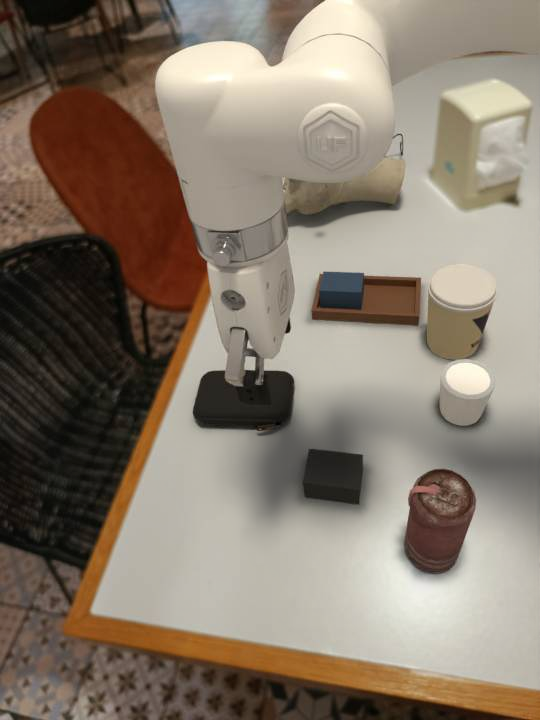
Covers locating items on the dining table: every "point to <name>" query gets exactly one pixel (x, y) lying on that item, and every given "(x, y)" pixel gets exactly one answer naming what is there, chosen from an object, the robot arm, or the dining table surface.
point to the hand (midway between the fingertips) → (266, 364)
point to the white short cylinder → (465, 391)
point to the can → (438, 519)
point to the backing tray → (379, 302)
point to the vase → (346, 189)
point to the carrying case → (224, 407)
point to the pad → (333, 476)
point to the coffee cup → (458, 309)
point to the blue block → (341, 290)
